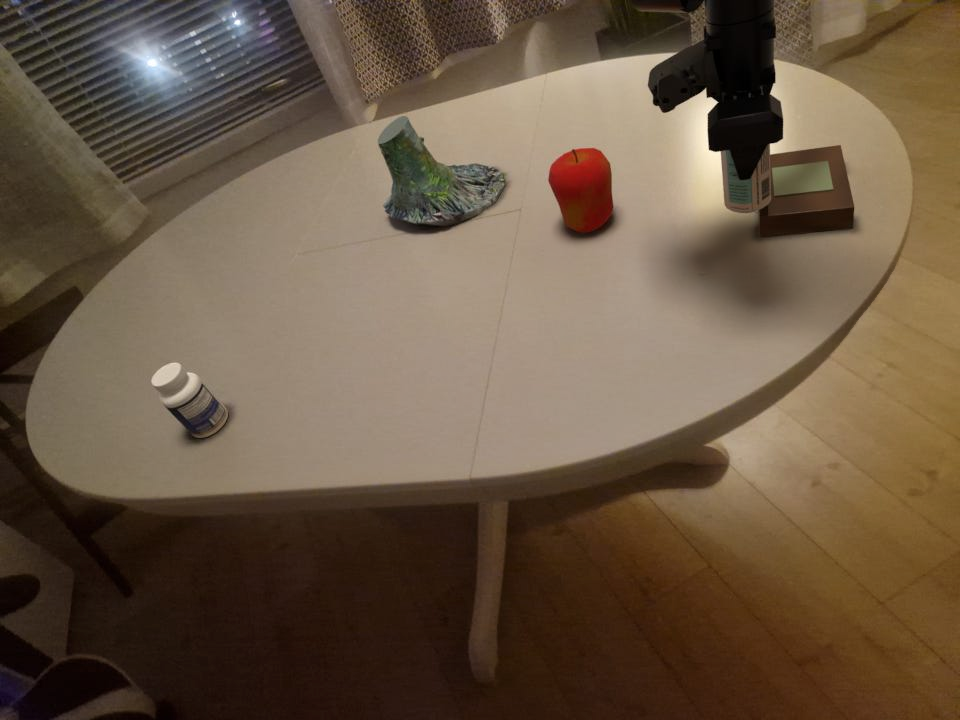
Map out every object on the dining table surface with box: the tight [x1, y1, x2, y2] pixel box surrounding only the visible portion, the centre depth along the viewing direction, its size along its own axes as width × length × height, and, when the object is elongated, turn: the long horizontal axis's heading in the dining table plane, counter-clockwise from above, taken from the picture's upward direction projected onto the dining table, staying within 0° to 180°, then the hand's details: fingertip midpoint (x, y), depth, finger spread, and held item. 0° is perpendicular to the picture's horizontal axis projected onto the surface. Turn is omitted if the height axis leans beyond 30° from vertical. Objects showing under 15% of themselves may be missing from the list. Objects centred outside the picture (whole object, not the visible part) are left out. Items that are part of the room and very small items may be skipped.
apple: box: [547, 147, 614, 234], centre depth 89 cm, size 9×8×12 cm
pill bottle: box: [150, 362, 229, 439], centre depth 83 cm, size 5×5×10 cm
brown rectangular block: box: [758, 144, 855, 238], centre depth 81 cm, size 10×14×5 cm
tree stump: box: [377, 115, 506, 227], centre depth 105 cm, size 18×20×18 cm
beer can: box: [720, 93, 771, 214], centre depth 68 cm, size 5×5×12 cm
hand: (743, 166), depth 69 cm, fingers closed on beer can, 5 cm apart
